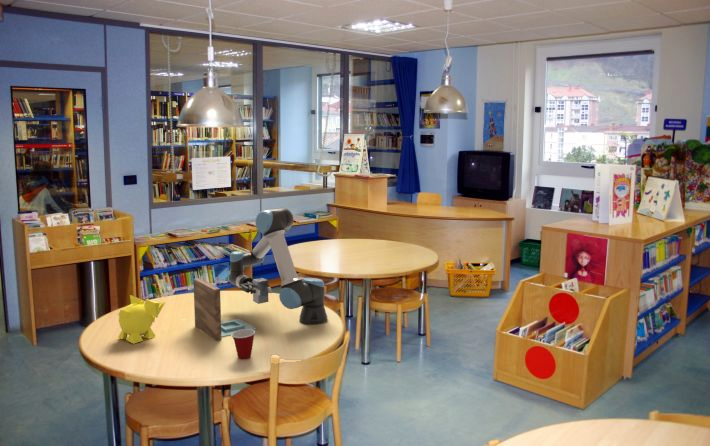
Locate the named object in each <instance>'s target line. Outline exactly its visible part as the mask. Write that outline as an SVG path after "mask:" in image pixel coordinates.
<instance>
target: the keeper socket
mask: <svg viewBox="0 0 710 446" xmlns="http://www.w3.org/2000/svg"><path fill="white" fill-rule="evenodd" d="M243 329H252V330H255V331H257V328H256V327H254V326H253V325H250V324H249V323H247V322H245V321H243V320H242V319H240V318H237V319H232V320H227V321H221V338H225V337H230V336H232V335H231V334H232V333H233V332H235V331H238V330H243Z"/></svg>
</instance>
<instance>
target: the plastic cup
mask: <svg viewBox="0 0 710 446" xmlns="http://www.w3.org/2000/svg"><path fill="white" fill-rule="evenodd" d="M255 333H256V330H252V329H243V330H238V331H235V332H233V333H232V334H231V335H230V336H231V337H232V338H233V342H234V344H235V345H234V346H235V351H236V355H237V359H239V360H249V359H250V358H251V357H252V352H253V345H254V339H255Z"/></svg>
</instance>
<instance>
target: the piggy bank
mask: <svg viewBox="0 0 710 446" xmlns="http://www.w3.org/2000/svg"><path fill="white" fill-rule="evenodd" d="M129 298H130V304H128V305H126V306H125V307H124V308H123V309H120V310H119V312H118V314H117V316H118V323H119V327H120V329H121V332H120V333H119V335H118V336H117V338H118V339H121V340H124V339H125V340H126V341H127V342H129V343H131V344H132V343H133V344H137V343H140V342H143V341H144V340H143V338H144V339H149V340H150V339H152V338H156V337H155V336H156V334H155V333H154V331H153V329H152V328H151V327H152V325H153V323H155V320H156V318H159V314H160V312H161V311H162V309H163V307H164V306H165V304H166V301H164V302H158V301H154V300H151V299H147V298H146V299H145V300H144V299H142V298H139V297H136V296H134V295H131V294H129ZM128 335H129V336H128ZM142 335H143V336H142ZM133 344H132V345H133Z"/></svg>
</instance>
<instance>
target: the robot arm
mask: <svg viewBox="0 0 710 446" xmlns="http://www.w3.org/2000/svg"><path fill="white" fill-rule="evenodd" d="M294 220H295V219H294V215H293V213H292V212H291V211H290V209H288V208H285V207H278V208H272V209H271V208H270V209H266V210H261V211H260V212H258V213H257V215H256V218H255V221H254V222H255V228H256V230H257V231H258V232H259V233H261V234H262V235H263V236H262V238H261V239H260V240H259V241H258V243H257V244H256V245H255V247H253V248H252V250H251V251H250V252H245V253H244V252H243V251H241V250H239V251H232V252H231V253H230V255H229V262H230V263H229V265H230V272H229V273H228V275H227V280H228V282H229V283H230V284H231V285H232V286H236V287H238V288H239V290H242V291H243V292H245V293H247V294H249V293H250V294H251V295H253V293H255V294H257V295H260V290H258V289H256V288H253V278H252V277H250V276H248V275H245V272H244V271H245V268H248V267H250V266H255V265H259V264H262V263H264V262H265V256H266V254H267V253H268V252H269V251H270V250H271V252H272V255H273V258H274V261H275V264H276V268H277V270H278V273H279V276H280V279H281V285H280V289H281V290H280V291H279V295H278V298H279V301H280V303H281V304H282V306H284V307H285V308H287V309H289V310H294V309H298V308H301V307H302V308H301V312H300V315H299V322H301V323H302V324H306V325H320V324H324V323H326V322H327V321H328V314H327V312H326V311H327V310H326V307H325V281H324V280H323V279H320V278H316V277H314V278H313V277H304V278H303V279H302V278H300V277H299V276H298V274H297V271H296V268H295V265H294V262H293V258H292V256H291V252H290V250H289V249H290V248H289V246H288V244H287V240H286V238H285V234H287V232H289V230H291V228H292V226H293V224H294ZM268 294H272V288H271V287H270V284H269V283H268Z"/></svg>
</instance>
